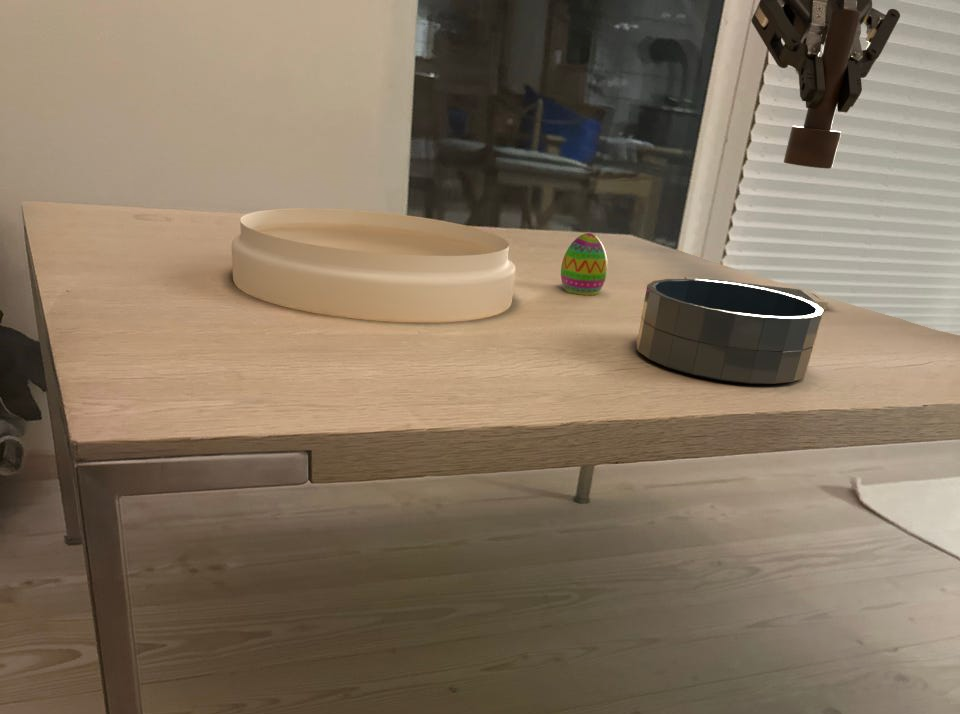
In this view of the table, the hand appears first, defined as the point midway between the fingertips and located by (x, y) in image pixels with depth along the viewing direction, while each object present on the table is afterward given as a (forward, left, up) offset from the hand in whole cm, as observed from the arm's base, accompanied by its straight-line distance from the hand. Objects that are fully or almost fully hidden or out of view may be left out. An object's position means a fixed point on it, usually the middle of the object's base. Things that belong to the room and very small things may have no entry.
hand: (831, 102), depth 82 cm
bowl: (+12, +13, -20) cm, 27 cm away
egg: (+15, -14, -20) cm, 29 cm away
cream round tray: (+38, -10, -20) cm, 45 cm away
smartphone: (-7, -17, -20) cm, 27 cm away
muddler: (0, -2, -5) cm, 5 cm away
